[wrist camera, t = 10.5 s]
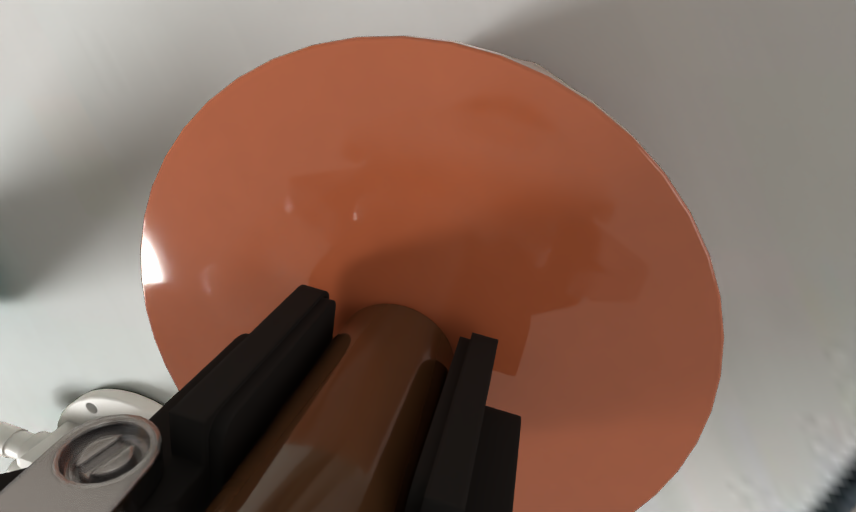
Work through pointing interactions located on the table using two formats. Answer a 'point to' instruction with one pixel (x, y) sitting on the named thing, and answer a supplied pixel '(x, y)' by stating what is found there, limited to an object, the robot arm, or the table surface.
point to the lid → (437, 272)
